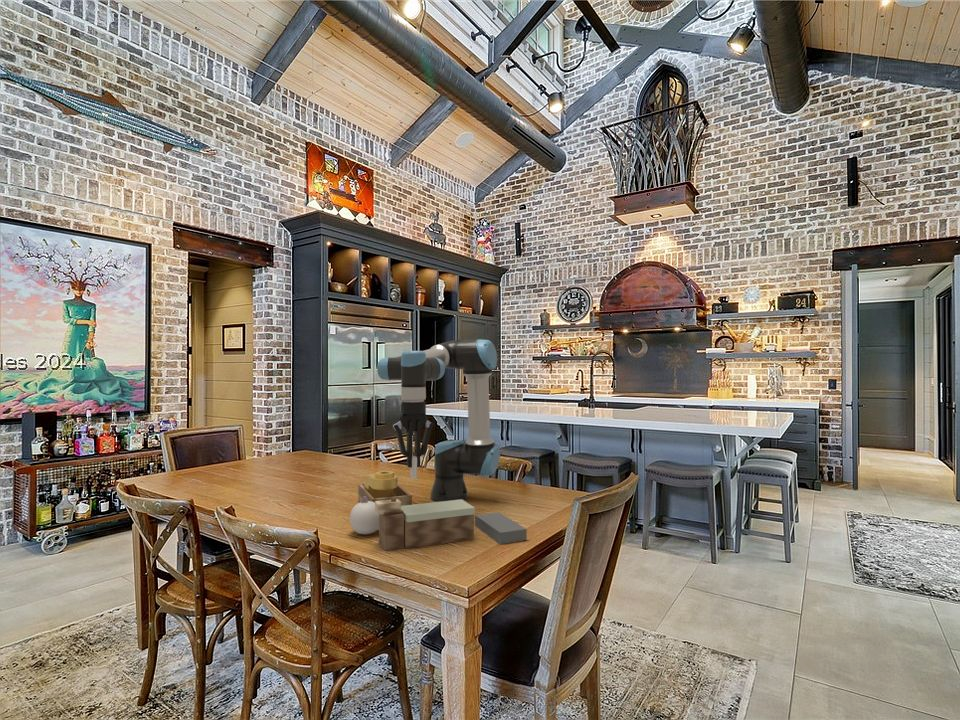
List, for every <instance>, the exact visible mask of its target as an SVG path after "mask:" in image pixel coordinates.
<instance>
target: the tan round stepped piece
mask: <svg viewBox="0 0 960 720" xmlns="http://www.w3.org/2000/svg"><path fill="white" fill-rule="evenodd" d="M398 478H399V477H398V475H396V474H395V471H392V470H380V471H375V472H374V473H367V474H366V476H365V480H364V483H365V485H364V488H365V489H366V490H367V491H368V492H369V493H370V495H371V496H372V497H373V498H374V499H375V498H385V497H393V489H394V488H396V487H398V484H399V483H398Z"/></svg>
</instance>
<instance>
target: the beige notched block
mask: <svg viewBox="0 0 960 720" xmlns="http://www.w3.org/2000/svg"><path fill="white" fill-rule="evenodd" d="M400 510H401V501H399V500H398V499H396V497H391V500H382V501H375V512H376V513H377V514H378V515H380V514H384V512H391V511H400Z"/></svg>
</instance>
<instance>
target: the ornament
mask: <svg viewBox="0 0 960 720" xmlns="http://www.w3.org/2000/svg"><path fill="white" fill-rule="evenodd" d="M364 500H365V501H364ZM349 522H350V523H349V524H350V526H351V528H352V529H353V531H354V532H355V533H358V534H360V535H371V534H373V533H375V532H376V531H377V530H379V515H378V514H377V513H376V512H375V503H374V502H372V501H368V500H367V497H366V496H364V497H363V499H362V501H361V502H360V503H358V502H357V503H356V504H355V505H354V506H353V507H352V509H351V511H350V515H349Z"/></svg>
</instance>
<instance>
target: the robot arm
mask: <svg viewBox="0 0 960 720" xmlns="http://www.w3.org/2000/svg"><path fill="white" fill-rule="evenodd" d="M497 353H498V352H497V349H496V347H495V345H494V344H493V342H492V341H491V340H489V339H482V338H481V339H480V338H479V339H455V340H449V341H445V342H442V343H439V344H435V345H433V346H431V347H430V348H429V349H425V350H404V351H402V352H401V356H395V357H389V356H388V357H382V358H380V359H379V361H378V363H377V365H376V368H377V369H376V370H377V371H376V372H377V376H378V377H379V378H380V380H384V381H401V386H400V387H401V388H400V389H401V394H400V395H401V397H400V398H401V399H400V400H401V403H400V408H401V409H400V414H401V415H400V418H399V421H398V422H396V423H392V428H393V429H394V432H395V434H396V438H397V442H398V447H399V451H400V454H401V455H402V456H405V457H406V466H407V468H409V477H410V478H411V479H412V480H415V479H418V468H419V467H421V456H422V455H426V453H427V452H428V451H427V450H428V446H429V442H430V438H431V434H432V430H433V428H434V427H435V423H434V422H431V421H430V420H428V417H427V407H426V406H427V404H426V401H425V400H426V398H427V390H426V387H427V384H426V383H427V382H426V381H428V382H429V381H431V382H435V381H437V380H439V379H441V378H442V377H443V376H444V375H445V372H446V369H451V370H452V369H456V370H458V369H459V370H462V375H463V376H464V377H465V378H466V389H467V391H466V392H467V416H468V417H467V418H468V419H467V420H468V421H467V422H468V423H467V424H468V438H467V439H466V441H464V440H461V439H456V440H448V441H441V442H438V443H437V444H436V445H435V449H434V450H435V451H434V456H435V457H434V461H435V462H434V469H435V470H434V472H435V473H434V476H435V477H434V482H433V485H432V487H431V488H432V489H431V491H430V499H431V500H432V501H434V502H442V501H451V500H460V499H462V500H464V501H465V500H467V499H468V497H469V496H468V489H467V486H466V483H465V479H464V475H465V474H466V475H477V476H480V477H481V476H482V477H483V476H492V475H494V474H495V473H496V471H497V469H498V466H499V465H500V458H501V452H500V448H499V447H498V446H497V445H495V440H494V439H493V438H492V437H491V420H490V415H491V414H490V388H489V387H490V383H489V381H490V380H489V378H490V376H491V375H492V374H493V370H494V369H496V367H497V364H498V354H497ZM402 427H403V428H404V429H405V433H406V445H405V440H404V436H403V432H402ZM424 427H425V429H424V433H423V438H421V437H422V436H421V435H422V430H423V428H424ZM413 434H414V455H413ZM421 439H422V440H421ZM421 441H422V442H421Z"/></svg>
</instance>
